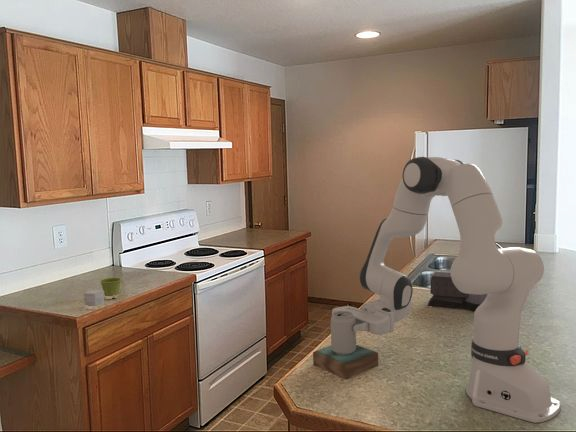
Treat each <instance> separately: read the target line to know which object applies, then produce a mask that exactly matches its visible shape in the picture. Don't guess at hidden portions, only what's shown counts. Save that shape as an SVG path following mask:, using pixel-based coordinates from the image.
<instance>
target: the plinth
mask: <svg viewBox="0 0 576 432" xmlns="http://www.w3.org/2000/svg"><path fill="white" fill-rule="evenodd" d="M312 357H313V358H312V359H313V361H312V362H313V363H312V364H313V366H316V367H318V368H319V369H320V368H321V369H323V370H324V371H327V372H330V373H331V374H333V375H336V376H338V377H340V378H343V379H345V380H347V379H350V378H352V377H354V376H357V375H359V374H361V373H365V372H367V371H368V370H370V369H373V368H375V367H378V366H379V352H377V351H375V350H371V349H368V348H367V347H363V346H360V345H359V344H358V345H357V344H356V350H355V351H354V352H353V353H352V354H349V355H339V354H336V353H334V351H332V349H331V345H328V346H326V347H324V348H320V349H317V350H316V351H313V352H312Z"/></svg>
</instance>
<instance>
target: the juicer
mask: <svg viewBox="0 0 576 432" xmlns="http://www.w3.org/2000/svg"><path fill="white" fill-rule="evenodd" d="M429 292H430V294H431V295H432V296H431V298H429V301H428V304H427V307H429V306H432V307H433V308H441V307H442V309H455V310H466V311H469V312H474V313H475V311H476V309H477V308H478V307H479V306H480V305H481V304H482V303H483V302H484V300H485V299H486V297H487V295H488V294H483V295H476V294H466V293H462V292H461V291H459V290H458V289H457V288H456V287H455V285H454V283H453V281H452V278H451V272H437V271H434V272H433V274H432V275H431V277H430V291H429Z"/></svg>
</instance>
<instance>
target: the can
mask: <svg viewBox="0 0 576 432" xmlns="http://www.w3.org/2000/svg"><path fill="white" fill-rule="evenodd" d="M354 324H356V319H355V317H354V316H353V313H352V312H349V311H337V312H334V313H333V316H332V315H331V318H330V346H331V349H332V351H334V353H336V354H339V355H349V354H352V353H353V352H354V351H355V350H356V345H357V336H356V334H357V332H354V331H352V330H351V329H352V328H351V326H352V325H354Z"/></svg>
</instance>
